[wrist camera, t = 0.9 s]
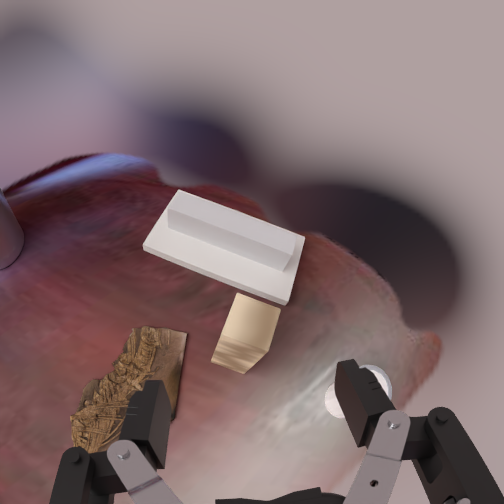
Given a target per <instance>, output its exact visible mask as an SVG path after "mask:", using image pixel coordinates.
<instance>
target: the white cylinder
mask: <svg viewBox="0 0 504 504" xmlns="http://www.w3.org/2000/svg"><path fill="white" fill-rule="evenodd" d="M364 367H366V368H367V369H369V370H370V371H371V372H373V373H374V375H375V376H376V378H377V379H378V382H379V383H380V384H381V386H382V388H383V389H384V391H385V392H386V394H387V396H388V397H389V399H390V401H391V398H392V386H391V383H390V379H389V377H388V376H387V375H386V373H385V372H384V371H383V370H382V369H380V368H379V367H377V366H375V365H363V366H360V367H359V368H364ZM334 384H335V382H334V383H333V384H332V385H330V386H329V388H328V390H327V392H326V394H325V404H326V408H327V410H328V411H329V412H330V413H331V415H333V416H335V417H337V418H345V416H344V414H343V412H342V409H341V407H340V405H339V402H338V400H337V398H336V395H335V390H334Z"/></svg>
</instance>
